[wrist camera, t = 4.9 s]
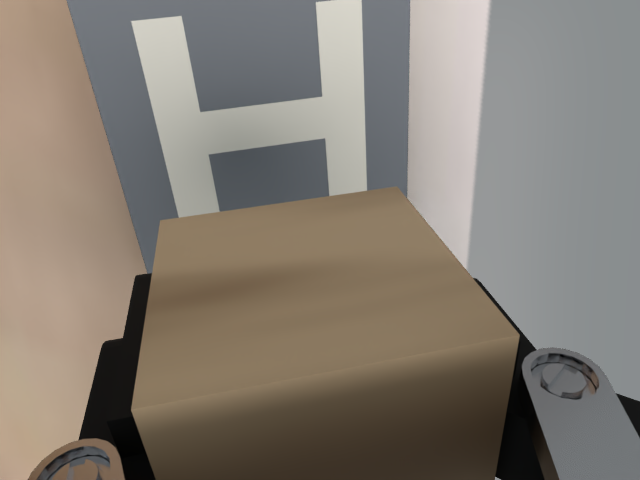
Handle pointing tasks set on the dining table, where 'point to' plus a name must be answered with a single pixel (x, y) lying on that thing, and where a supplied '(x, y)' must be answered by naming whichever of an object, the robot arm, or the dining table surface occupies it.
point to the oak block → (319, 348)
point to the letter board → (247, 101)
